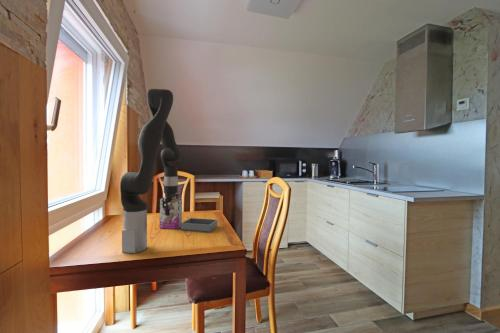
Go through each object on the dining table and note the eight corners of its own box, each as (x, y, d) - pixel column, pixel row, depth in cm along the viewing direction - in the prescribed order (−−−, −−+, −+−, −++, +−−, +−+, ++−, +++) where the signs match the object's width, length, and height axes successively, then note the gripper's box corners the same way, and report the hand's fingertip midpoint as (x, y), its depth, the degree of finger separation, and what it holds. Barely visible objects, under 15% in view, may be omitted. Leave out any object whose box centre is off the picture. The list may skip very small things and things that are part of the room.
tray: (210, 232, 131) (210, 225, 131) (181, 230, 134) (181, 223, 134) (217, 226, 143) (217, 219, 142) (190, 224, 146) (190, 217, 145)
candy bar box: (159, 228, 137) (159, 199, 136) (163, 226, 142) (163, 197, 141) (178, 229, 135) (178, 200, 135) (182, 227, 140) (182, 198, 140)
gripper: (170, 186, 130) (170, 217, 130) (183, 183, 144) (183, 211, 144) (157, 185, 131) (157, 216, 132) (171, 182, 145) (171, 210, 146)
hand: (170, 213), depth 138 cm, fingers open, 7 cm apart
